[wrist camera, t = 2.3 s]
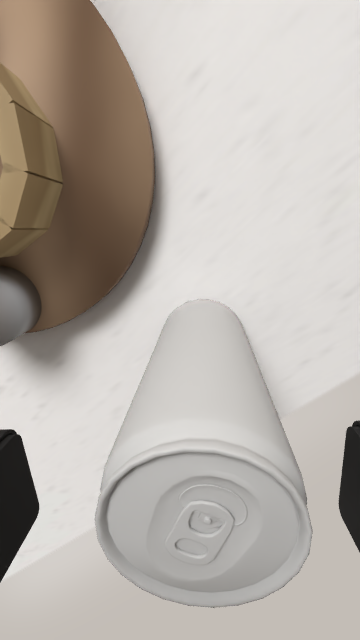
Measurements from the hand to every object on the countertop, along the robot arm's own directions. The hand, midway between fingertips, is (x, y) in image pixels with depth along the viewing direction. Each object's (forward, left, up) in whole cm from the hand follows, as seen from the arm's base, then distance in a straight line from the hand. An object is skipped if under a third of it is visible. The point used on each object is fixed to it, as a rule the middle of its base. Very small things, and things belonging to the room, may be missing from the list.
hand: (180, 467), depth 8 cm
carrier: (+10, -10, -10) cm, 18 cm away
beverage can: (-1, 0, -10) cm, 10 cm away
